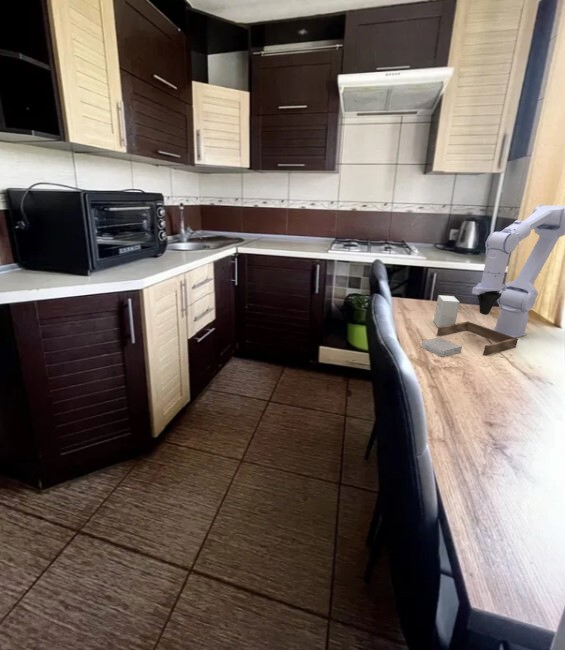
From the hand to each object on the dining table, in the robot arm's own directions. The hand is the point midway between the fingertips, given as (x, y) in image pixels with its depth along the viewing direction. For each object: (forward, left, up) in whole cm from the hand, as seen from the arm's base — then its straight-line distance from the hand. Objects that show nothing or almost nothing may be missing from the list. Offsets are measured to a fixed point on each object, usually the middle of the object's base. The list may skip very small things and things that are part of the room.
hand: (483, 313), depth 111 cm
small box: (-2, -15, -10) cm, 18 cm away
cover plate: (+18, 0, -10) cm, 21 cm away
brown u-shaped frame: (+2, 0, -9) cm, 10 cm away
